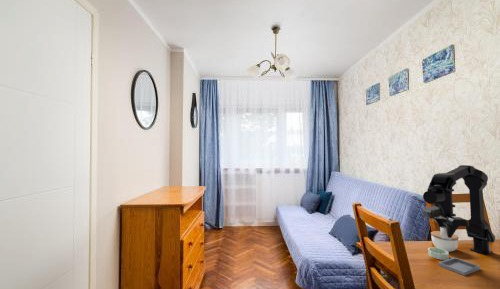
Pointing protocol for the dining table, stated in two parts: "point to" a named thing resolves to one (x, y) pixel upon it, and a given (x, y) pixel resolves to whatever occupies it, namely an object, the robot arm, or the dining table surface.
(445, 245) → the lidded jar
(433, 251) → the bowl
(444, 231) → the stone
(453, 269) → the parts tray
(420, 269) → the dining table surface
